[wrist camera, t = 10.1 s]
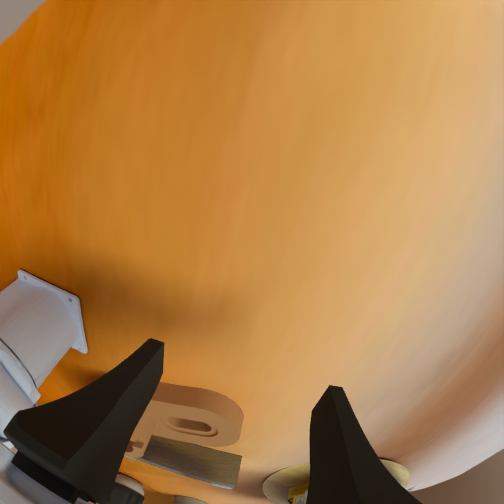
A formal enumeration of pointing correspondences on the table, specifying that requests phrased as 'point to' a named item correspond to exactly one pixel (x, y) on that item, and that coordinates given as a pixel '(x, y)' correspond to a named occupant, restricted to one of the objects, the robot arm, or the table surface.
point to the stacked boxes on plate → (297, 481)
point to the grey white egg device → (126, 491)
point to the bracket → (187, 418)
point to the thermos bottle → (187, 500)
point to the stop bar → (193, 461)
